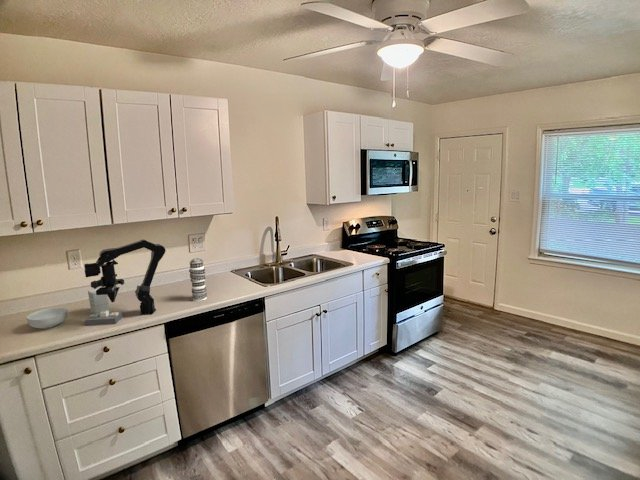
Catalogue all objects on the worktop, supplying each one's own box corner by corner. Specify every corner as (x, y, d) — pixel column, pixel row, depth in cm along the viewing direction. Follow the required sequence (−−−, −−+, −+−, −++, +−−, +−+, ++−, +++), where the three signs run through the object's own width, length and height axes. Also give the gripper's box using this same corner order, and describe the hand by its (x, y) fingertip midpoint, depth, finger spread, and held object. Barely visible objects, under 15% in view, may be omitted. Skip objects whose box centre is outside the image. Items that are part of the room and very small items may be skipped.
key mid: (109, 315, 191) (108, 310, 190) (106, 317, 188) (105, 312, 188) (103, 315, 191) (102, 310, 190) (100, 317, 188) (99, 312, 187)
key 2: (119, 317, 192) (118, 312, 191) (116, 319, 189) (115, 314, 188) (113, 317, 191) (112, 312, 191) (110, 319, 188) (109, 314, 188)
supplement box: (104, 307, 209) (101, 287, 207) (110, 310, 205) (106, 289, 202) (90, 311, 204) (87, 290, 201) (95, 314, 199) (92, 293, 197)
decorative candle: (189, 301, 215) (185, 261, 210) (194, 296, 224) (190, 257, 219) (205, 301, 215) (201, 260, 211) (209, 295, 224) (205, 257, 220)
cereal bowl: (27, 336, 174) (25, 322, 173) (29, 324, 188) (27, 312, 186) (69, 326, 184) (67, 313, 183) (68, 316, 197) (66, 304, 196)
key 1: (99, 318, 191) (98, 313, 190) (96, 320, 188) (95, 315, 187) (93, 318, 190) (92, 313, 190) (90, 320, 188) (89, 315, 187)
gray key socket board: (124, 316, 195) (123, 311, 195) (115, 323, 186) (115, 318, 185) (95, 318, 194) (94, 312, 193) (85, 325, 184) (84, 320, 184)
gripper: (101, 269, 194) (105, 297, 197) (82, 279, 176) (87, 309, 179) (122, 268, 195) (126, 295, 198) (106, 278, 177) (110, 308, 180)
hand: (112, 302), depth 189 cm, fingers closed
